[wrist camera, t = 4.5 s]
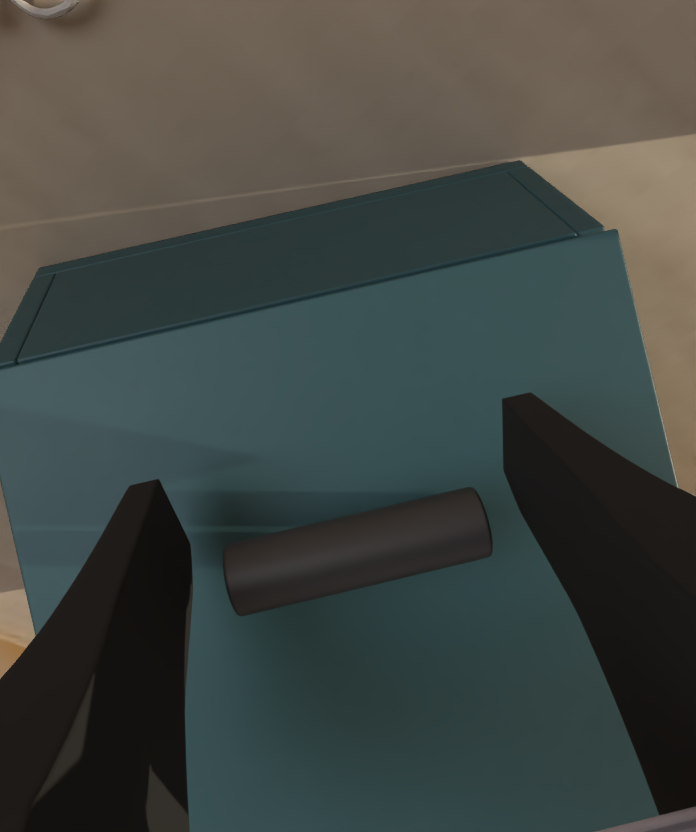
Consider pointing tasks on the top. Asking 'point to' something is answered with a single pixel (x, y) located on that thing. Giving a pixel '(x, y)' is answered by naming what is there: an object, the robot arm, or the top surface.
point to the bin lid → (361, 540)
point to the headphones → (46, 9)
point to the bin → (288, 259)
